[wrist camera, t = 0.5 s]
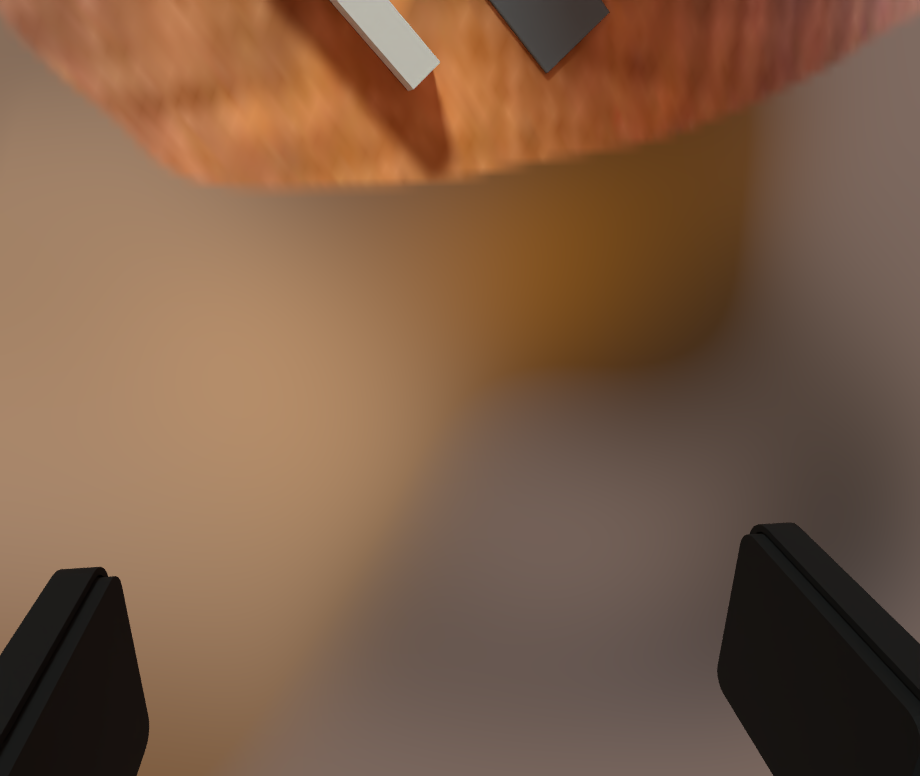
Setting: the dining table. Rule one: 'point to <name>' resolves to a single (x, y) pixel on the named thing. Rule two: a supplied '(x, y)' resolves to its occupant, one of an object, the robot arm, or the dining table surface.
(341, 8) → the light grey l-shaped block
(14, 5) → the dining table surface
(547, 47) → the pose mat
